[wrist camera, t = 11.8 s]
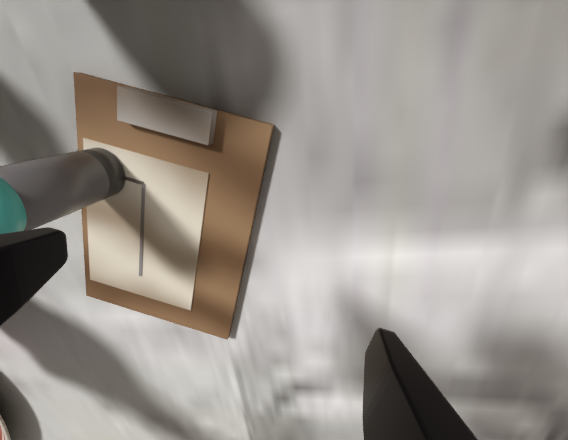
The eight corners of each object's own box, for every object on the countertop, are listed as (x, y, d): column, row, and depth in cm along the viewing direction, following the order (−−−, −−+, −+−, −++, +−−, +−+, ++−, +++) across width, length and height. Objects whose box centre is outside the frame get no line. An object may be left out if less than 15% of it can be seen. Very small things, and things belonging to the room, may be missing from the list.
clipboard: (229, 334, 26) (224, 346, 25) (91, 291, 27) (79, 301, 25) (274, 124, 19) (269, 127, 17) (81, 72, 19) (62, 71, 18)
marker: (125, 201, 21) (10, 253, 14) (82, 187, 22) (-51, 233, 15) (125, 155, 20) (-2, 188, 13) (80, 141, 20) (-69, 166, 13)
